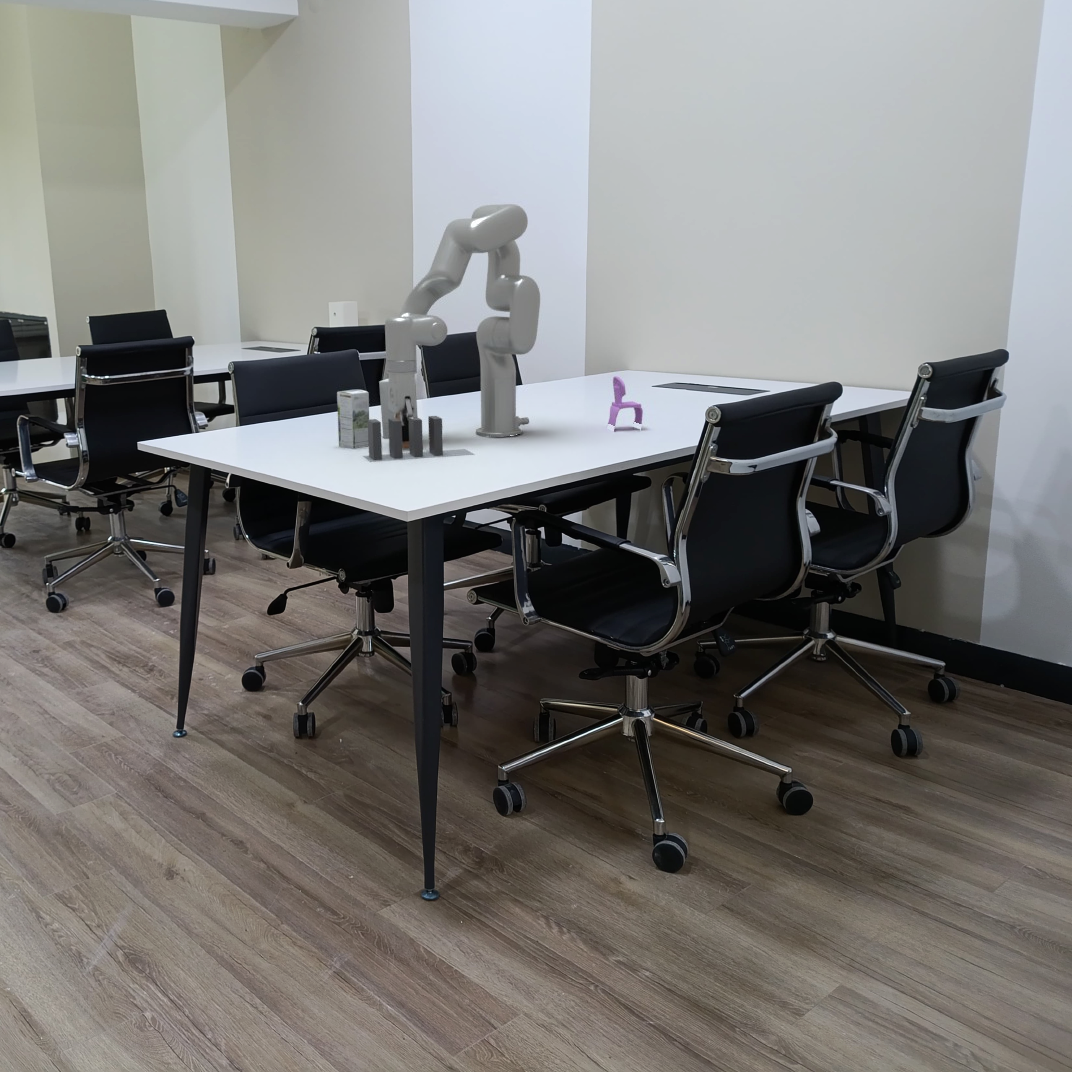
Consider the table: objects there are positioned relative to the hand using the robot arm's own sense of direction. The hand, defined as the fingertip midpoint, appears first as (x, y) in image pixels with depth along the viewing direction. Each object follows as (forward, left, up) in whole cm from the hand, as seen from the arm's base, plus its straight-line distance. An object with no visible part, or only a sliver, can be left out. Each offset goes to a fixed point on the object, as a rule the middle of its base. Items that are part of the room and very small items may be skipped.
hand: (403, 438), depth 266 cm
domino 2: (+9, +10, -2) cm, 14 cm away
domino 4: (+5, +12, -2) cm, 13 cm away
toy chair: (-64, +16, -3) cm, 66 cm away
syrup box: (+9, -9, -3) cm, 13 cm away
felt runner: (+4, +12, -2) cm, 13 cm away
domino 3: (0, 0, -3) cm, 3 cm away
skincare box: (-9, -15, -3) cm, 18 cm away
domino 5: (0, +14, -2) cm, 14 cm away
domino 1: (+14, +9, -2) cm, 17 cm away
